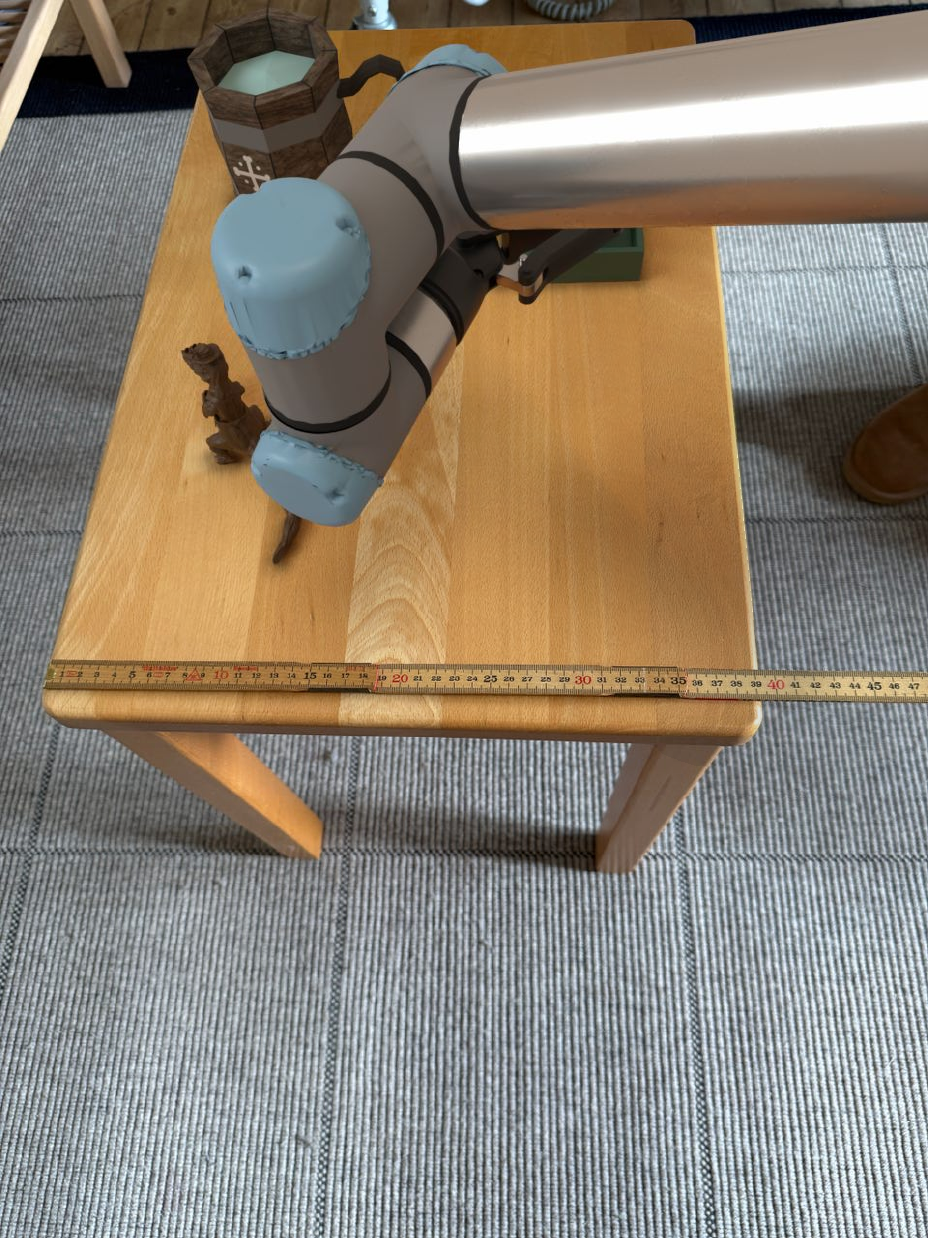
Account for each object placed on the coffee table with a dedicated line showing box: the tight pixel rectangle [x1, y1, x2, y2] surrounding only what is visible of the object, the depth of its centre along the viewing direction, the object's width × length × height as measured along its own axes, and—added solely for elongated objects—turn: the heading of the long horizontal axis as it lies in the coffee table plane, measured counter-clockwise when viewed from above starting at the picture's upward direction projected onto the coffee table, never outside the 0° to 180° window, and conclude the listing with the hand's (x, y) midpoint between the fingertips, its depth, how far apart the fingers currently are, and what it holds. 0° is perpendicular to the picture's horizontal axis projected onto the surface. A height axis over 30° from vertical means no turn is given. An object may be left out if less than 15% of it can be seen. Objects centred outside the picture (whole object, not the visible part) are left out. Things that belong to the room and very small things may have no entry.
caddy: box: [500, 227, 645, 284], centre depth 85 cm, size 13×13×4 cm
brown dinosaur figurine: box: [180, 342, 301, 565], centre depth 71 cm, size 15×10×12 cm, turn 174°
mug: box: [186, 6, 406, 199], centre depth 84 cm, size 20×14×15 cm
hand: (532, 113), depth 66 cm, fingers open, 13 cm apart
